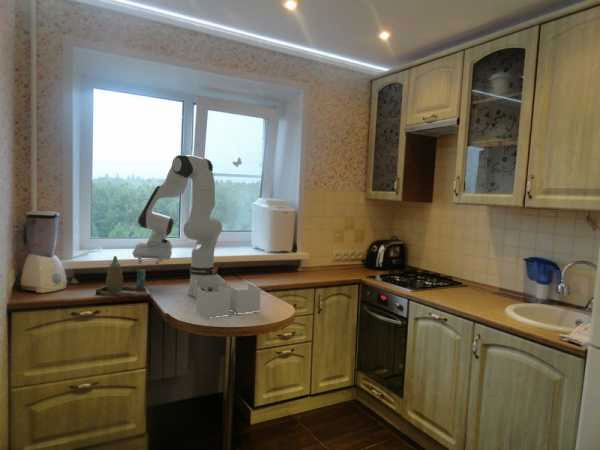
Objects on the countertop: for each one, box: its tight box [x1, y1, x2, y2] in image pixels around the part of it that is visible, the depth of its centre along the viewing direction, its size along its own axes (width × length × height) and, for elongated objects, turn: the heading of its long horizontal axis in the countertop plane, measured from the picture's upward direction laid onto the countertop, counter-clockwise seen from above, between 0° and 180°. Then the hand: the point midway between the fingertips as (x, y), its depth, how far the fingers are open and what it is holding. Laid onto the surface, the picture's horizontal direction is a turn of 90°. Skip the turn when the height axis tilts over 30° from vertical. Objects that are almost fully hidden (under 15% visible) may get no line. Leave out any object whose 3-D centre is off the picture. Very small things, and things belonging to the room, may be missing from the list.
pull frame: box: [95, 268, 147, 298], centre depth 199 cm, size 18×15×10 cm
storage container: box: [195, 283, 262, 319], centre depth 173 cm, size 25×11×11 cm, turn 122°
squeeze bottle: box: [105, 255, 124, 292], centre depth 199 cm, size 8×8×18 cm
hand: (148, 263), depth 213 cm, fingers open, 8 cm apart
